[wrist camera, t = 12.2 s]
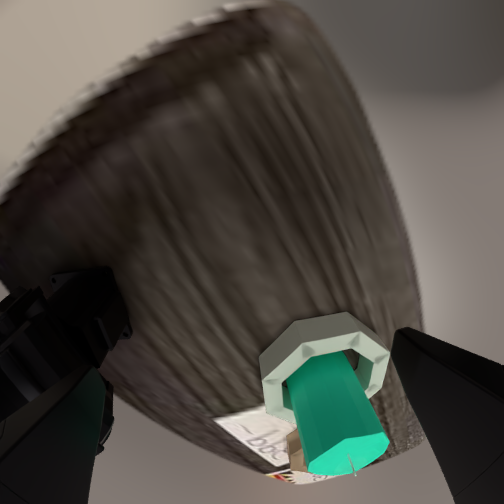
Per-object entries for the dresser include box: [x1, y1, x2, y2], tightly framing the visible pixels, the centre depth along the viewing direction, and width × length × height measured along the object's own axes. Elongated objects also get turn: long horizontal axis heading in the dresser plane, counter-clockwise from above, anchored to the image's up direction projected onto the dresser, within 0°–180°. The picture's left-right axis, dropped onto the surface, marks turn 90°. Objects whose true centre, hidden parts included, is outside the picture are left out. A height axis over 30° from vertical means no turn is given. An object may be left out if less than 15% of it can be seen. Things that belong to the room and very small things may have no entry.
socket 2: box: [259, 312, 390, 424], centre depth 22 cm, size 11×11×3 cm
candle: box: [286, 350, 389, 476], centre depth 18 cm, size 6×6×12 cm
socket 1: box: [287, 429, 311, 473], centre depth 27 cm, size 11×11×3 cm
